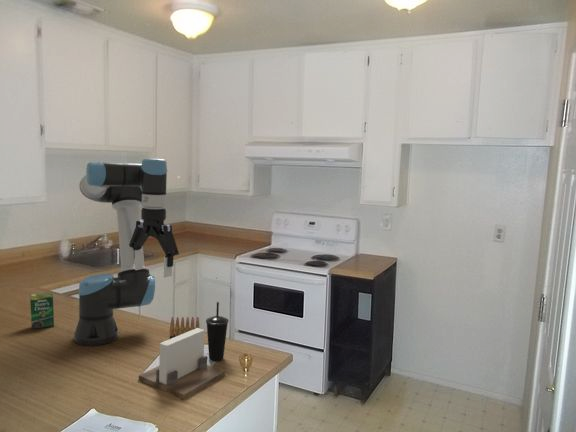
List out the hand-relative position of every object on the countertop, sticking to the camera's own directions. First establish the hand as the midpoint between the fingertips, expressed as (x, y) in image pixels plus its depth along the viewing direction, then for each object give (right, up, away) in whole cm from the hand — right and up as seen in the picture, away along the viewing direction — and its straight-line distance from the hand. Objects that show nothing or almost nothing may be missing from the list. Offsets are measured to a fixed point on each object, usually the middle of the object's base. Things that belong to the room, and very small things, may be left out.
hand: (152, 273), depth 147 cm
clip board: (+11, -32, -5) cm, 34 cm away
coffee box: (-52, -25, +30) cm, 65 cm away
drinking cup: (+19, -31, +10) cm, 38 cm away
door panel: (+11, -31, -5) cm, 33 cm away
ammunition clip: (+6, -30, +16) cm, 34 cm away
